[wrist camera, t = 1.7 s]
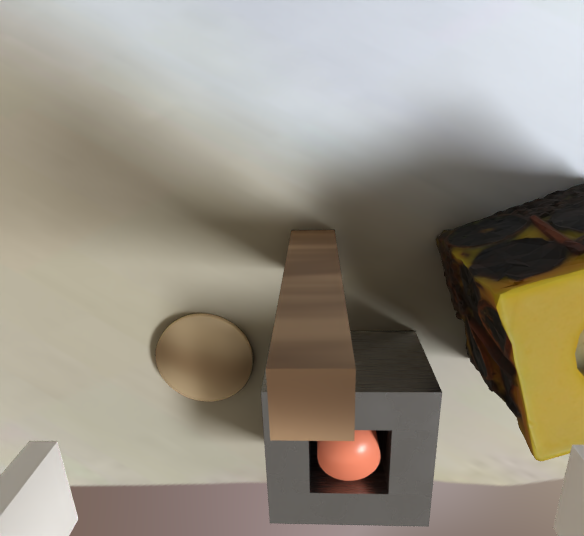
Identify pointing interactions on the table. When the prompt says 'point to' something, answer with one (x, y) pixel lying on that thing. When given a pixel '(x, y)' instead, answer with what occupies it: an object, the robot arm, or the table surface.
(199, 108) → the table surface
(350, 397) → the dowel
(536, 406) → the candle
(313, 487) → the box
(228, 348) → the coaster
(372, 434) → the orange ball
